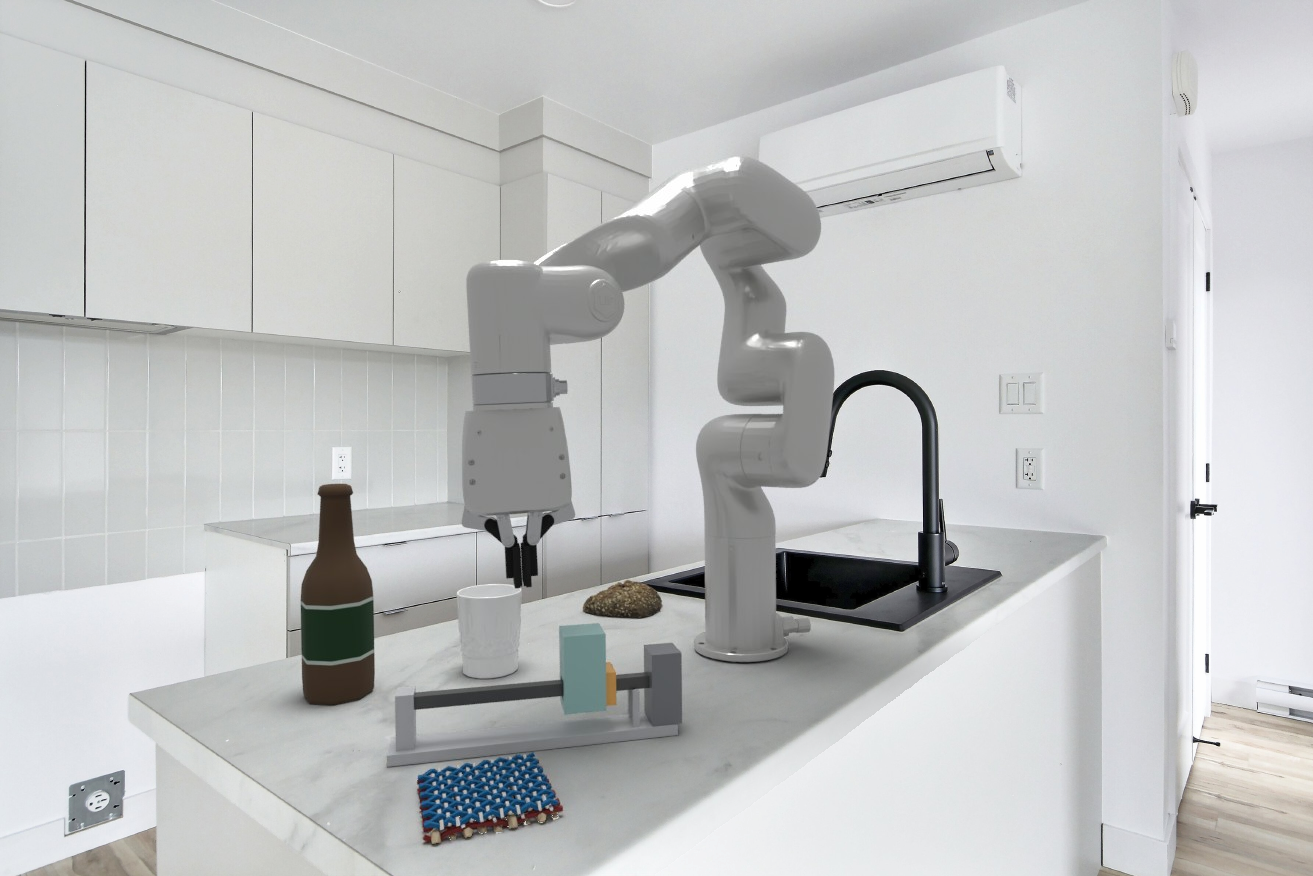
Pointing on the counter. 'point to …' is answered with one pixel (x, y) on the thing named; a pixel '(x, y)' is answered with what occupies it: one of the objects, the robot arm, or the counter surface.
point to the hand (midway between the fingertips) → (522, 584)
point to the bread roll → (624, 601)
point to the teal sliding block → (583, 668)
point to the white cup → (489, 629)
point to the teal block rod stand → (654, 722)
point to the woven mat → (484, 796)
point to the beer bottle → (337, 609)
